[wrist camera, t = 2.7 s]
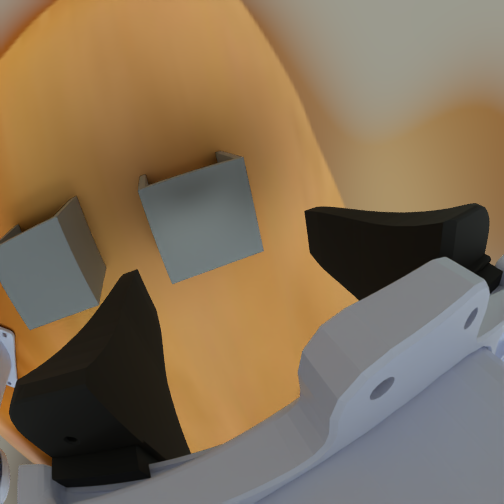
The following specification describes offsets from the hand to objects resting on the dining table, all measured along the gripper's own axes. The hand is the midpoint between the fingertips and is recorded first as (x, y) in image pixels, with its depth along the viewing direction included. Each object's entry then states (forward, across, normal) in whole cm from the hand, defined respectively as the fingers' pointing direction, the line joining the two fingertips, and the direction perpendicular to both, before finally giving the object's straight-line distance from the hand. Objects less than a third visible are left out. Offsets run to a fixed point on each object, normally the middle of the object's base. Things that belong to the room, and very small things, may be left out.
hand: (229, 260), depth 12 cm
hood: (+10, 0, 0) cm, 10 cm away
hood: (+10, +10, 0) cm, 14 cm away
